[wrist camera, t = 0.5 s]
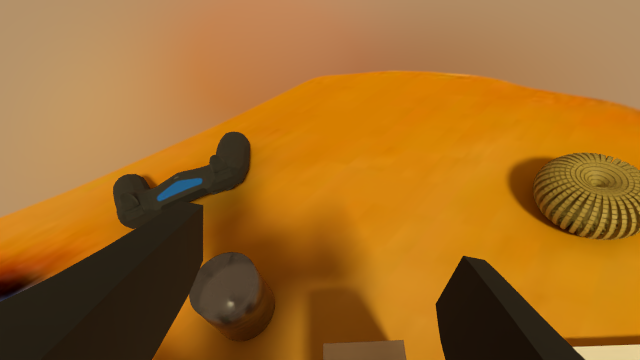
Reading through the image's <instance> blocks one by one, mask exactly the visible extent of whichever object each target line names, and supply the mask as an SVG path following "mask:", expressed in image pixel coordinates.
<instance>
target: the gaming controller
mask: <svg viewBox="0 0 640 360" xmlns="http://www.w3.org/2000/svg"><path fill="white" fill-rule="evenodd" d="M249 156H250V143H249V141H248V139H247V138H246V137H245V136H244V135H243V134H241V133H239V132H229V133H226V134H225V135H224V136H223V137H222V139H221V140H220V142H219V144H218V148H217V152H216V155H212V156H211V157H210V162H209V163H210V164H209V165H207V166H204V167H201V168H197V169H193V170H188V171H183V172H179V173H177V174H175V175H174V176H172V177H170V178H169V179H168V180H166V181H164V182H163V183H161V184H160V185H159V186H157V187H155V188H152V189H150V187H149V185H148V184H147V182H146V180H145V179H144V178H143V177H140V176H138V175H136V174H127V175H124V176H122V177H120V178H119V179H118V180H117V181H116V182H115V184H114V187H113V195H114V201H115V205H116V208H117V215H118V219H119V220H120V222H121V223H122V224H123V225H124V226H126V227H129V228H132V229H135V228H138V227H139V226H141V225H142V224H144V223H146V222H147V221H149V220H150V219H152V218H154V217H155V216H157V215H158V214H160V213H162V212H163V211H165V210H166V209H168V208H170V207H171V206H173V205H175V204H176V203H178V202H180V201H184V202H190V201H193V200H195V199H197V198H200V197H202V196H204V195H206V194H209V193H212V194H217V193H219V192H221V191H223V190H225V189H226V190H230V189H232V188H233V187H234V185H237V184H239V183H241V182H243V179H244V177H245V175H246V173H247V172H248V169H249Z"/></svg>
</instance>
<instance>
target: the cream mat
mask: <svg viewBox="0 0 640 360" xmlns="http://www.w3.org/2000/svg"><path fill="white" fill-rule="evenodd" d="M573 348H574V349H575V350H576V351H577V352H578V353H579V354H580V355H581V356H582V357H583V358H584V359H585V360H640V345H613V346H585V347H573Z"/></svg>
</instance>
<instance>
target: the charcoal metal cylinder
mask: <svg viewBox="0 0 640 360" xmlns="http://www.w3.org/2000/svg"><path fill="white" fill-rule="evenodd" d="M189 298H190V302H191V305H192V307H193V308H194V310H195V311H196V312H197V313H199V314H200V315H201V316H202V317H203V318H204V319H206V320H207V321H208V322H209V323H210V324H212V325H213V326H214V327H215V328H216V329H217V330H219V331H220V332H221V333H222V334H223V335H224V336H226V337H227V338H229V339H231V340H234V341H245V340H249V339H251V338H254V337H255V336H257V335H258V334H260V333H261V332H262V331H263V330H264V329H265V328H266V327H267V325H268V324H269V322H270V321H271V319H272V316H273V313H274V309H275V299H274V296H273V293H272V291H271V290H270V288H269V287H268V285H267V284H266V282H265V281H264V279H263V278H262V276H261V275H260V273H259V272H258V270H257V269H256V267H255V266H254V264H253V263H252V261H251V260H250V259H249V258H248V257H247V256H245V255H243V254H240V253H235V252H229V253H224V254H220V255H218V256H216V257H214V258H212V259H210V260H209V261H208V262H206V263H205V264H204V265H203V266H202V267H201V268H200V269H199V271H198V274H197V276H196V279H195V281H194V283H193V286H192V288H191V290H190V292H189Z"/></svg>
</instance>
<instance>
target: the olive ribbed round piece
mask: <svg viewBox="0 0 640 360" xmlns="http://www.w3.org/2000/svg"><path fill="white" fill-rule="evenodd" d="M605 157H606V156H605V155H603V154H602V155H601V154H599V155H598V154H596V153H595V154H594V153H573V154H569V155H564V156H561V157H559V158H556V159H553V160H552V161H550V162H548V163H547V164H546V165H545V166H543V167H542V168H541V170H540V171H539V172H538V174H537V175H536V178H535V180H534V186H533V193H534V198H535V201H536V204H537V206H538V207H539V209H540V210H541V212H542V213H543V214H544V215H545V216H546V217H547V218H548V219H549V220H551V221H552V223H554V224H555V225H560V228H562V229H564V230H565V229H566V228H567V227H568V226H569V225H570V224H571V223H572V222H573V223H572V225H571V226H570V228H569V231H568V232H570V233H572V234H573V233H574V232H575V231H576V232H577V233H576V234H577V235H578V236H581V237H584V236H585V237H587V238H590V239H591V238H592V239H598V240H602V239H603V240H605V239H608V240H612V239H613V240H615V239H618V238H619V239H622V238H626V237H629V236H633V235H635V234H637V233H639V232H640V170H638V169H637V168H636V167H633V166H631V165H630V164H629V163H627V162H621V160H620V159H615V160H614V161H613V162H612V159H613V157H611V156H608V157H607V158H605ZM605 159H606V160H605ZM611 162H612V163H611ZM570 169H571V170H570ZM626 211H627V212H626ZM582 228H583V229H582ZM576 229H577V230H576Z"/></svg>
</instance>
